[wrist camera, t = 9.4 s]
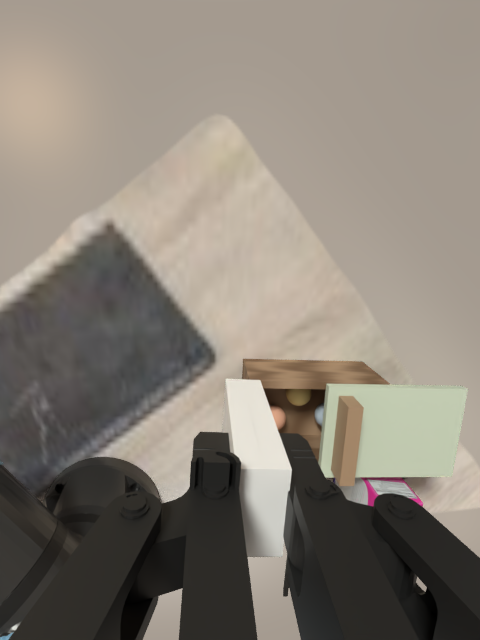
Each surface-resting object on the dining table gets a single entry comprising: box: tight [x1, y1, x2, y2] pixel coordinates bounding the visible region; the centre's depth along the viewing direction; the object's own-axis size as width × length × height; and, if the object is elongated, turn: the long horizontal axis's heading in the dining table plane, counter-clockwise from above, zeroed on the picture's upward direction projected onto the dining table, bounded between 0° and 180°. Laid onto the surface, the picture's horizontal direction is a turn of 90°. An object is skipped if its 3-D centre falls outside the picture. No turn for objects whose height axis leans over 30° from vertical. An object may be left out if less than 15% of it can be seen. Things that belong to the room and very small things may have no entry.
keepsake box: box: [242, 359, 390, 462], centre depth 48 cm, size 16×11×8 cm
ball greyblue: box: [315, 403, 324, 426], centre depth 50 cm, size 3×3×3 cm
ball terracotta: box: [270, 405, 286, 430], centre depth 50 cm, size 3×3×3 cm
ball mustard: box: [286, 389, 311, 406], centre depth 49 cm, size 3×3×3 cm
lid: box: [318, 384, 468, 486], centre depth 43 cm, size 16×11×4 cm
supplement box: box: [333, 477, 423, 506], centre depth 50 cm, size 6×6×12 cm
